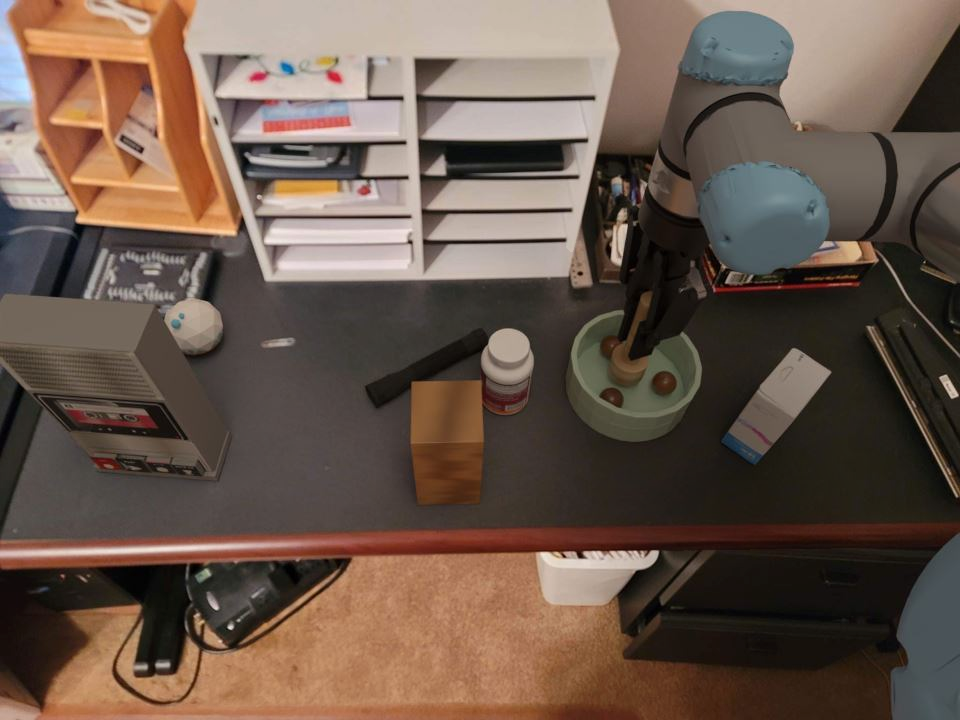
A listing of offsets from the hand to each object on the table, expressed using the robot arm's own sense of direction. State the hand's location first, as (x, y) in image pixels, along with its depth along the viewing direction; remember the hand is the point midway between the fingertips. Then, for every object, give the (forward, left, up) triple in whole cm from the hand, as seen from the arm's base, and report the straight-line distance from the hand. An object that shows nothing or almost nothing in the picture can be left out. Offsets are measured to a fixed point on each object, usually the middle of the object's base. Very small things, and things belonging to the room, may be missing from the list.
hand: (634, 345), depth 82 cm
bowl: (-1, 0, -8) cm, 8 cm away
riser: (-5, +25, -8) cm, 26 cm away
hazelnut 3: (-3, -4, -6) cm, 7 cm away
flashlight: (+9, +23, -8) cm, 26 cm away
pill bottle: (+3, +15, -8) cm, 17 cm away
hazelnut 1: (+4, 0, -6) cm, 7 cm away
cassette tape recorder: (+8, +55, -8) cm, 56 cm away
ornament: (+23, +49, -8) cm, 55 cm away
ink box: (-12, -12, -8) cm, 19 cm away
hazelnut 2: (-3, +3, -6) cm, 7 cm away
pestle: (0, 0, -5) cm, 5 cm away
